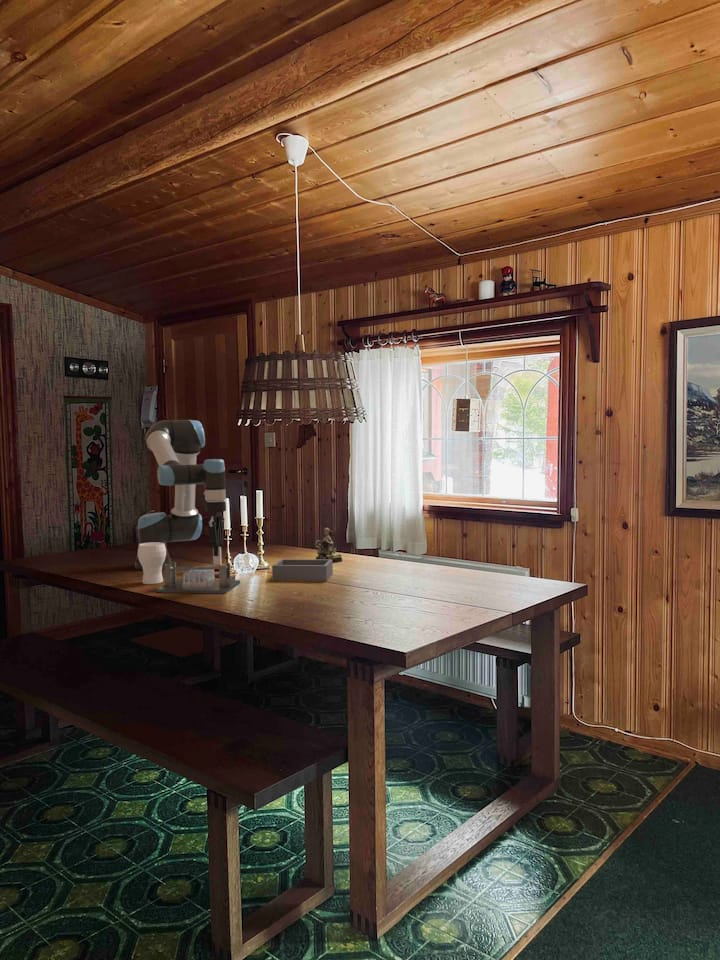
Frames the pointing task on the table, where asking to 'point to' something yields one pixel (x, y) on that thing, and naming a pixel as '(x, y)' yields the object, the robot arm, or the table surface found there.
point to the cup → (152, 561)
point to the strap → (196, 567)
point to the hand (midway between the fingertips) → (217, 564)
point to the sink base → (196, 590)
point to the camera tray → (302, 570)
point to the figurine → (327, 548)
